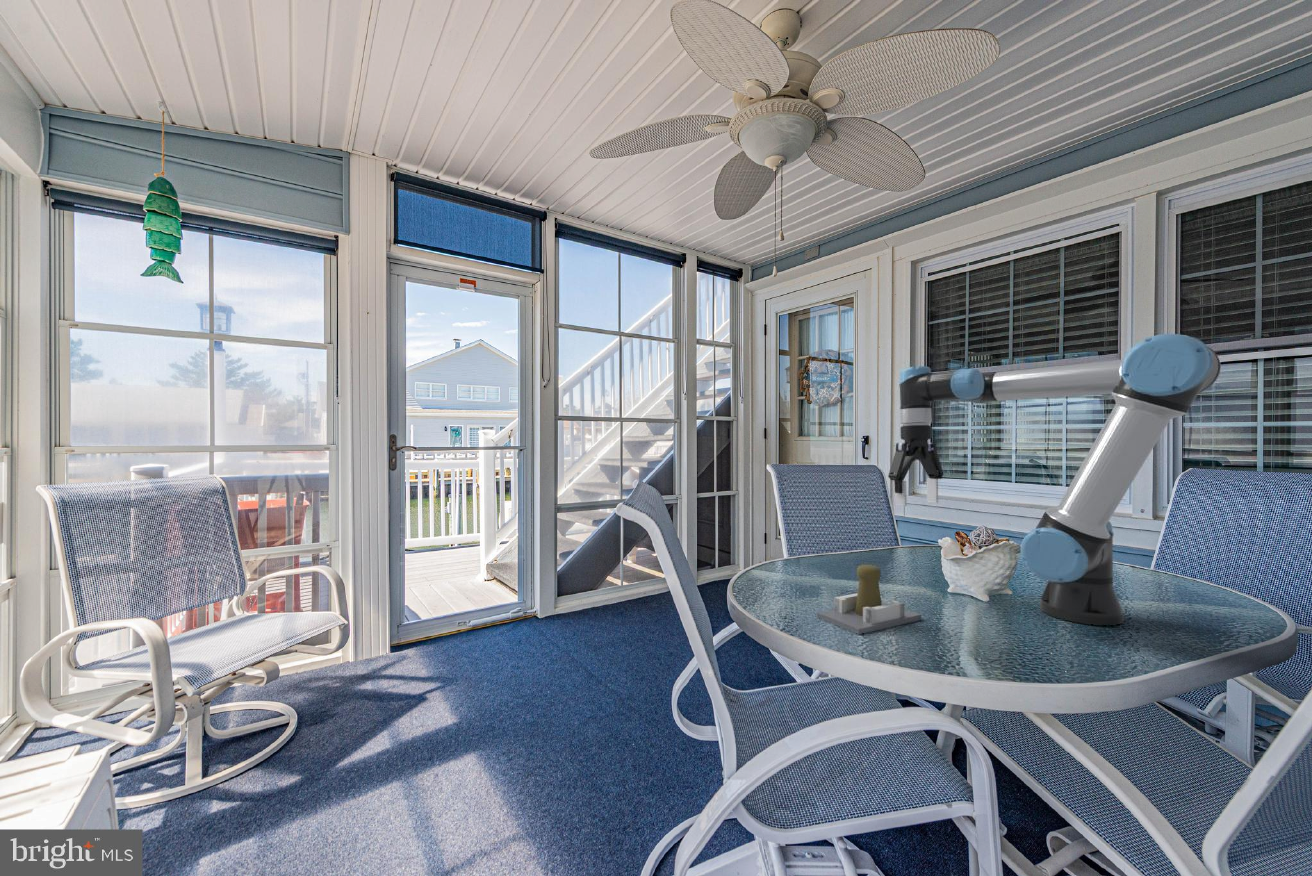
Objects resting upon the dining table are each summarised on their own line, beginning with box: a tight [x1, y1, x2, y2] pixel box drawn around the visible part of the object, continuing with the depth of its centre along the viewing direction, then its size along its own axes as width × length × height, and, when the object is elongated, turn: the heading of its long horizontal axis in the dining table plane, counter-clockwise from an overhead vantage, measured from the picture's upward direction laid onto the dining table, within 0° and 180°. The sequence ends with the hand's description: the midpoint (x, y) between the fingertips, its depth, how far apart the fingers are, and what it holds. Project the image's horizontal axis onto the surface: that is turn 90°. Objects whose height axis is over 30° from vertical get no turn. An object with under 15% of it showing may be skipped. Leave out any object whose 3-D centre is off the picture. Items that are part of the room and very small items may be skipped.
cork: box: [855, 564, 882, 616], centre depth 119 cm, size 6×6×11 cm
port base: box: [816, 592, 922, 636], centre depth 119 cm, size 12×20×4 cm, turn 117°
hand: (917, 504), depth 139 cm, fingers open, 13 cm apart
